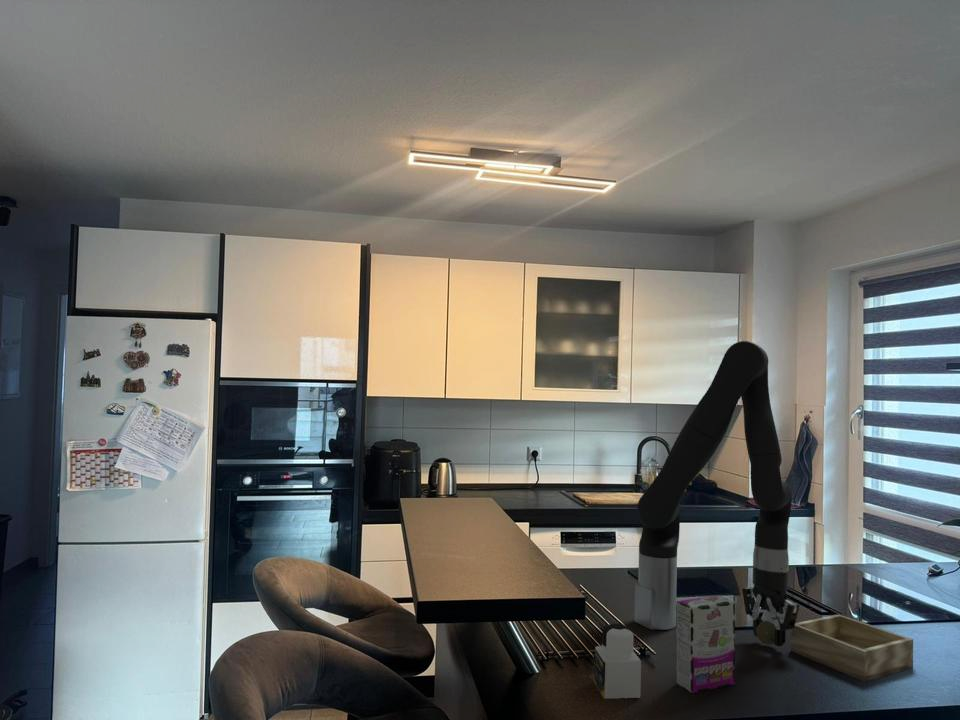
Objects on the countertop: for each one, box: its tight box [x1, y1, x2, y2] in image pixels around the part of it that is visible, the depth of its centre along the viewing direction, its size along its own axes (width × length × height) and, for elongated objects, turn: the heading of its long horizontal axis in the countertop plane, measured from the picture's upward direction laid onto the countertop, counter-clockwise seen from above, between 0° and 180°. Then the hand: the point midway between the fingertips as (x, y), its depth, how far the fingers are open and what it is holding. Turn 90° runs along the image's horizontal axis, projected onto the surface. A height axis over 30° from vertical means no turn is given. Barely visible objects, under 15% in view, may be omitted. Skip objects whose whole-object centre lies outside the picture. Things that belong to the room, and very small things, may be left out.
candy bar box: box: [675, 594, 736, 694], centre depth 131 cm, size 11×5×16 cm, turn 114°
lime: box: [756, 620, 776, 646], centre depth 151 cm, size 4×5×5 cm
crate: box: [790, 613, 914, 683], centre depth 146 cm, size 17×17×6 cm
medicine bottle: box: [593, 623, 642, 700], centre depth 127 cm, size 7×7×12 cm
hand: (768, 640), depth 151 cm, fingers closed on lime, 5 cm apart
